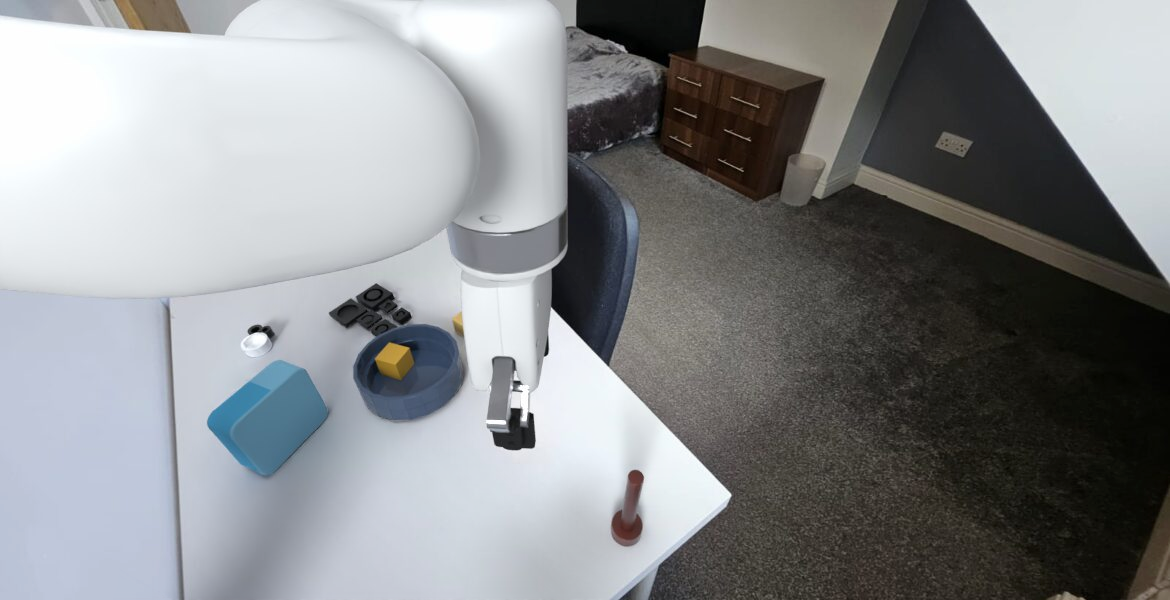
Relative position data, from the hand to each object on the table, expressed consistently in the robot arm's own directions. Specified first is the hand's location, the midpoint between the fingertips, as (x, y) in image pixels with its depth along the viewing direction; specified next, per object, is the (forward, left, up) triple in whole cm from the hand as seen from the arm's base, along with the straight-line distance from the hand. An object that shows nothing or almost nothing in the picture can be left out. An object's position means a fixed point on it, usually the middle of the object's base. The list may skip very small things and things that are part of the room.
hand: (524, 395), depth 41 cm
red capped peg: (+7, -9, -30) cm, 32 cm away
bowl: (+9, +33, -30) cm, 46 cm away
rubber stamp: (+24, +31, -31) cm, 50 cm away
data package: (-9, +40, -31) cm, 51 cm away
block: (+9, +37, -30) cm, 48 cm away
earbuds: (+9, +55, -31) cm, 64 cm away
